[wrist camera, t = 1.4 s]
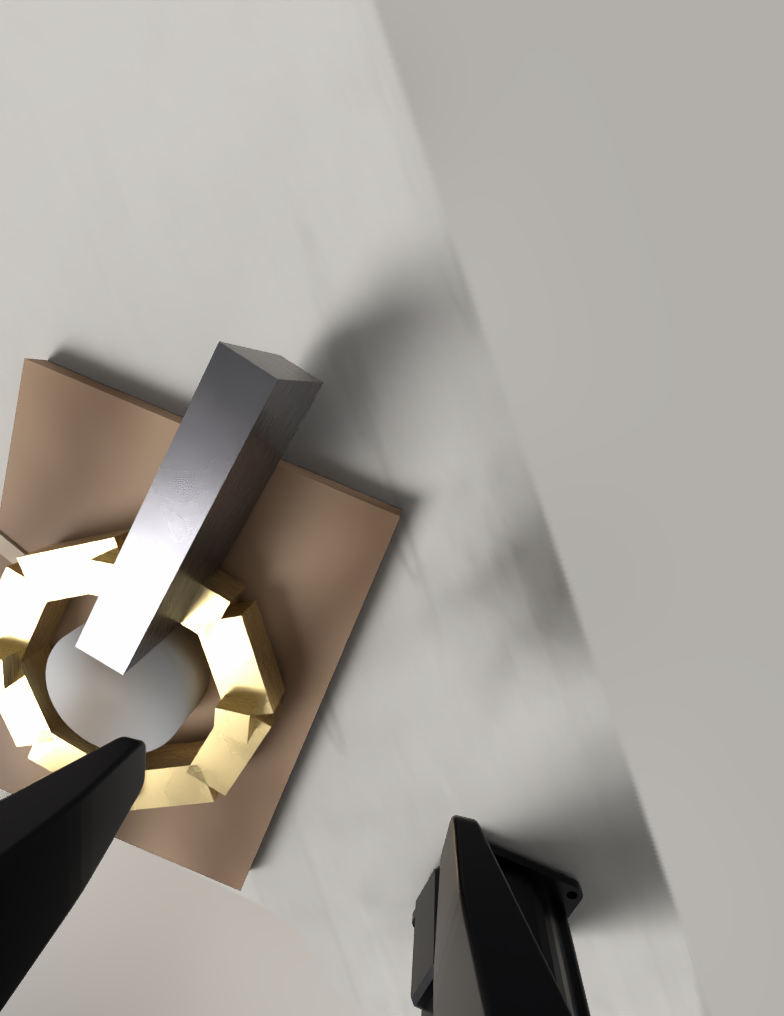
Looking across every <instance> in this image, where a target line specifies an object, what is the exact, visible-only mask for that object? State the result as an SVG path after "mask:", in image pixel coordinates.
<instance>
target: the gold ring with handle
mask: <svg viewBox="0 0 784 1016" xmlns="http://www.w3.org/2000/svg"><path fill="white" fill-rule="evenodd" d="M321 385H322V382H321V381H319V380H318V379H316V378H315V377H313V376H312V375H310V374H308V373H307V372H305V371H304V370H302V369H301V368H299V367H298V366H296V365H295V364H293V363H291V362H290V361H288V360H287V359H285V358H284V357H282V356H280V355H276V354H272V353H267V352H263V351H259V350H254V349H250V348H246V347H241V346H237V345H232V344H228V343H224V342H219V343H218V345H217V347H216V349H215V352H214V354H213V356H212V358H211V360H210V362H209V364H208V366H207V368H206V371H205V373H204V375H203V377H202V379H201V381H200V383H199V385H198V388H197V390H196V392H195V394H194V396H193V398H192V400H191V402H190V404H189V407H188V409H187V411H186V413H185V415H184V417H183V419H182V421H181V423H180V426H179V428H178V430H177V432H176V434H175V436H174V438H173V440H172V443H171V445H170V447H169V449H168V451H167V453H166V455H165V457H164V459H163V462H162V464H161V466H160V468H159V470H158V472H157V474H156V476H155V479H154V481H153V483H152V485H151V487H150V489H149V491H148V493H147V495H146V498H145V500H144V502H143V504H142V506H141V508H140V510H139V512H138V515H137V517H136V519H135V521H134V523H133V525H132V527H131V528H130V529H125V530H120V531H115V532H111V533H106V534H101V535H96V536H92V537H87V538H82V539H77V540H73V541H68V542H63V543H58V544H54V545H49V546H46V547H44V548H41V549H38V550H36V551H33V552H31V553H28V554H26V555H23V556H20V557H18V558H17V559H18V562H17V563H14V564H12V565H9V566H7V567H6V569H5V571H4V574H3V577H2V579H1V582H0V712H1V714H2V716H3V718H4V720H5V723H6V725H7V727H8V729H9V731H10V733H11V735H12V737H13V739H14V741H15V743H16V746H17V747H19V746H26V745H33V747H32V749H31V752H30V754H29V756H28V758H29V759H31V760H32V761H34V762H36V763H37V764H39V765H41V766H43V767H44V768H46V769H48V770H49V771H51V772H54V771H56V770H58V769H60V768H62V767H64V766H66V765H68V764H69V763H71V762H73V761H75V760H77V759H79V758H81V757H83V756H85V755H86V754H88V753H90V752H92V751H94V750H96V749H98V748H100V747H98V746H96V745H94V744H92V743H90V742H88V741H87V740H85V739H83V738H82V737H81V736H79V735H78V734H77V733H75V732H74V731H73V730H72V729H71V728H70V727H69V726H68V725H67V724H66V723H65V722H64V721H63V719H62V718H61V717H60V715H59V714H58V712H57V711H56V709H55V707H54V705H53V703H52V701H51V699H50V696H49V693H48V690H47V685H46V665H47V661H48V658H49V655H50V653H51V649H50V646H49V644H50V641H51V639H52V637H53V635H54V633H55V630H56V628H57V626H58V624H59V621H60V619H61V617H62V615H63V613H64V610H65V608H66V606H67V604H68V602H69V599H70V597H74V596H79V595H85V594H92V595H97V596H99V597H98V599H97V601H96V603H95V606H94V608H93V610H92V612H91V614H90V616H89V618H88V620H87V622H86V625H85V627H84V629H83V631H82V633H81V635H80V637H79V639H78V642H77V644H76V646H75V647H77V648H79V649H80V650H82V651H84V652H85V653H87V654H89V655H90V656H92V657H94V658H95V659H97V660H99V661H100V662H102V663H104V664H105V665H107V666H109V667H110V668H112V669H114V670H115V671H117V672H119V673H120V674H122V675H124V674H125V673H126V672H127V671H128V670H129V669H131V668H132V667H133V666H134V665H135V664H136V663H137V662H139V661H140V660H141V659H142V658H143V657H144V656H145V655H146V654H148V653H149V652H150V651H151V650H152V649H153V648H154V647H155V646H157V645H158V644H159V643H160V642H161V641H162V640H163V639H165V638H166V637H167V636H168V635H169V634H170V633H171V632H172V631H174V630H175V629H176V628H177V627H178V626H179V625H180V624H182V625H184V626H185V627H187V628H189V629H190V630H192V631H194V632H195V633H197V634H198V635H199V638H200V641H201V643H202V646H203V649H204V652H205V655H206V658H207V660H208V663H209V666H210V669H211V672H212V674H213V677H214V680H215V683H216V686H217V689H218V691H219V694H220V697H221V701H220V702H219V704H218V705H217V706H216V708H215V719H214V728H213V729H212V731H211V733H210V734H209V736H208V737H207V739H206V740H202V741H194V742H186V743H178V744H170V745H162V746H160V747H159V748H157V749H154V750H152V751H149V752H146V762H145V780H144V784H143V787H142V789H141V791H140V793H139V795H138V797H137V799H136V801H135V802H134V804H133V806H132V808H131V809H130V810H139V809H149V808H159V807H169V806H179V805H189V804H199V803H209V802H214V801H215V799H216V798H217V796H218V794H219V792H220V793H221V794H223V795H226V794H227V792H228V791H229V789H230V788H231V786H232V785H233V784H234V782H235V781H236V779H237V778H238V776H239V775H240V773H241V772H242V770H243V769H244V767H245V766H246V764H247V763H248V761H249V760H250V758H251V757H252V755H253V754H254V752H255V751H256V749H257V748H258V746H259V745H260V743H261V742H262V740H263V739H264V737H265V736H266V734H267V733H268V731H269V730H270V728H271V727H272V725H273V723H274V721H275V719H276V717H277V715H278V713H279V711H280V709H281V707H282V705H283V702H281V701H280V699H281V697H282V695H283V694H284V692H285V687H284V684H283V681H282V678H281V675H280V671H279V668H278V665H277V662H276V659H275V656H274V652H273V649H272V646H271V643H270V640H269V637H268V634H267V630H266V627H265V624H264V621H263V618H262V615H261V611H260V608H259V605H258V602H257V599H253V600H248V601H242V602H237V601H238V600H239V598H240V596H241V595H242V593H243V591H244V589H245V588H246V586H245V585H243V584H242V583H240V582H239V581H237V580H235V579H234V578H232V577H231V576H229V575H227V574H226V573H224V572H222V571H221V570H220V568H221V566H222V564H223V562H224V561H225V559H226V557H227V555H228V553H229V552H230V550H231V548H232V546H233V544H234V543H235V541H236V539H237V537H238V535H239V533H240V532H241V530H242V528H243V526H244V524H245V523H246V521H247V519H248V517H249V515H250V514H251V512H252V510H253V508H254V506H255V505H256V503H257V501H258V499H259V497H260V496H261V494H262V492H263V490H264V488H265V486H266V485H267V483H268V481H269V479H270V477H271V476H272V474H273V472H274V470H275V468H276V467H277V465H278V463H279V461H280V459H281V458H282V456H283V454H284V452H285V450H286V449H287V447H288V445H289V443H290V441H291V439H292V438H293V436H294V434H295V432H296V430H297V429H298V427H299V425H300V423H301V421H302V420H303V418H304V416H305V414H306V412H307V411H308V409H309V407H310V405H311V403H312V402H313V400H314V398H315V396H316V394H317V392H318V391H319V389H320V387H321Z"/></svg>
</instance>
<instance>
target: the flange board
mask: <svg viewBox="0 0 784 1016" xmlns="http://www.w3.org/2000/svg"><path fill="white" fill-rule="evenodd" d="M182 419H183V418H182V417H180V416H177V415H175V414H173V413H170V412H168V411H166V410H163V409H161V408H158V407H156V406H154V405H151V404H149V403H147V402H144V401H142V400H139V399H137V398H135V397H132V396H130V395H128V394H125V393H123V392H120V391H118V390H116V389H113V388H111V387H109V386H106V385H104V384H101V383H99V382H97V381H94V380H92V379H90V378H87V377H85V376H82V375H80V374H78V373H75V372H73V371H70V370H68V369H66V368H63V367H61V366H59V365H56V364H54V363H51V362H49V361H47V360H38V359H26V358H25V359H24V365H23V371H22V377H21V383H20V390H19V396H18V402H17V408H16V414H15V421H14V427H13V433H12V439H11V445H10V452H9V458H8V464H7V470H6V476H5V483H4V489H3V495H2V501H1V507H0V582H1V579H2V577H3V574H4V571H5V569H6V567H7V566H9V565H12V564H14V563H17V562H18V559H17V558H18V557H20V556H23V555H26V554H28V553H31V552H33V551H36V550H38V549H41V548H44V547H46V546H49V545H54V544H58V543H63V542H68V541H73V540H77V539H82V538H87V537H92V536H96V535H101V534H106V533H111V532H115V531H120V530H125V529H130V528H131V527H132V525H133V523H134V521H135V519H136V517H137V515H138V512H139V510H140V508H141V506H142V504H143V502H144V500H145V498H146V495H147V493H148V491H149V489H150V487H151V485H152V483H153V481H154V479H155V476H156V474H157V472H158V470H159V468H160V466H161V464H162V462H163V459H164V457H165V455H166V453H167V451H168V449H169V447H170V445H171V443H172V440H173V438H174V436H175V434H176V432H177V430H178V428H179V426H180V423H181V421H182ZM401 513H402V510H401V509H398V508H396V507H394V506H391V505H389V504H387V503H384V502H382V501H379V500H377V499H375V498H372V497H370V496H368V495H365V494H363V493H360V492H358V491H356V490H353V489H351V488H349V487H346V486H344V485H341V484H339V483H337V482H334V481H332V480H330V479H327V478H325V477H322V476H320V475H318V474H315V473H313V472H311V471H308V470H306V469H303V468H301V467H299V466H296V465H294V464H292V463H289V462H287V461H284V460H282V459H280V461H279V463H278V465H277V467H276V468H275V470H274V472H273V474H272V476H271V477H270V479H269V481H268V483H267V485H266V486H265V488H264V490H263V492H262V494H261V496H260V497H259V499H258V501H257V503H256V505H255V506H254V508H253V510H252V512H251V514H250V515H249V517H248V519H247V521H246V523H245V524H244V526H243V528H242V530H241V532H240V533H239V535H238V537H237V539H236V541H235V543H234V544H233V546H232V548H231V550H230V552H229V553H228V555H227V557H226V559H225V561H224V562H223V564H222V566H221V568H220V570H221V571H222V572H224V573H226V574H227V575H229V576H231V577H232V578H234V579H235V580H237V581H239V582H240V583H242V584H243V585H245V586H246V588H245V589H244V591H243V593H242V595H241V596H240V598H239V600H238V601H237V602H242V601H248V600H253V599H257V602H258V605H259V608H260V611H261V615H262V618H263V621H264V624H265V627H266V630H267V634H268V637H269V640H270V643H271V646H272V649H273V652H274V656H275V659H276V662H277V665H278V668H279V671H280V675H281V678H282V681H283V684H284V687H285V692H284V694H283V695H282V697H281V699H280V701H281V702H283V705H282V707H281V709H280V711H279V713H278V715H277V717H276V719H275V721H274V723H273V725H272V727H271V728H270V730H269V731H268V733H267V734H266V736H265V737H264V739H263V740H262V742H261V743H260V745H259V746H258V748H257V749H256V751H255V752H254V754H253V755H252V757H251V758H250V760H249V761H248V763H247V764H246V766H245V767H244V769H243V770H242V772H241V773H240V775H239V776H238V778H237V779H236V781H235V782H234V784H233V785H232V786H231V788H230V789H229V791H228V792H227V794H226V795H223V794H221V793H220V792H219V794H218V796H217V798H216V799H215V801H214V802H209V803H199V804H189V805H179V806H169V807H159V808H149V809H139V810H130V811H129V813H128V814H127V816H126V818H125V820H124V821H123V823H122V825H121V827H120V828H119V830H118V832H117V834H116V835H115V838H117V839H120V840H122V841H124V842H127V843H129V844H131V845H134V846H136V847H138V848H141V849H143V850H145V851H148V852H150V853H152V854H155V855H157V856H160V857H162V858H164V859H167V860H169V861H171V862H174V863H176V864H178V865H181V866H183V867H185V868H188V869H190V870H192V871H195V872H197V873H199V874H202V875H204V876H206V877H209V878H211V879H214V880H216V881H218V882H221V883H223V884H225V885H228V886H230V887H232V888H235V889H237V890H239V891H241V889H242V886H243V884H244V882H245V879H246V877H247V874H248V872H249V870H250V867H251V865H252V863H253V860H254V858H255V856H256V853H257V851H258V849H259V846H260V844H261V842H262V839H263V837H264V835H265V832H266V830H267V828H268V825H269V823H270V821H271V818H272V816H273V814H274V811H275V809H276V807H277V804H278V802H279V800H280V797H281V795H282V793H283V790H284V788H285V786H286V783H287V781H288V778H289V776H290V774H291V771H292V769H293V767H294V764H295V762H296V760H297V757H298V755H299V753H300V750H301V748H302V746H303V743H304V741H305V739H306V736H307V734H308V732H309V729H310V727H311V725H312V722H313V720H314V718H315V715H316V713H317V711H318V708H319V706H320V704H321V701H322V699H323V697H324V694H325V692H326V690H327V687H328V685H329V682H330V680H331V678H332V675H333V673H334V671H335V668H336V666H337V664H338V661H339V659H340V657H341V654H342V652H343V650H344V647H345V645H346V643H347V640H348V638H349V636H350V633H351V631H352V629H353V626H354V624H355V622H356V619H357V617H358V615H359V612H360V610H361V608H362V605H363V603H364V601H365V598H366V596H367V594H368V591H369V589H370V586H371V584H372V582H373V579H374V577H375V575H376V572H377V570H378V568H379V565H380V563H381V561H382V558H383V556H384V554H385V551H386V549H387V547H388V544H389V542H390V540H391V537H392V535H393V533H394V530H395V528H396V526H397V523H398V521H399V519H400V516H401ZM98 597H99V596H97V595H92V594H85V595H79V596H74V597H70V599H69V602H68V604H67V606H66V608H65V610H64V613H63V615H62V617H61V619H60V621H59V624H58V626H57V628H56V630H55V633H54V635H53V637H52V639H51V641H50V644H49V646H50V649H51V653H50V655H49V658H48V661H47V665H46V685H47V690H48V693H49V696H50V699H51V701H52V703H53V705H54V707H55V709H56V711H57V712H58V714H59V715H60V717H61V718H62V719H63V721H64V722H65V723H66V724H67V725H68V726H69V727H70V728H71V729H72V730H73V731H74V732H75V733H77V734H78V735H79V736H81V737H82V738H83V739H85V740H87V741H88V742H90V743H92V744H94V745H96V746H98V747H102V746H103V745H105V744H107V743H109V742H111V741H113V740H115V739H117V738H119V737H129V738H134V739H138V740H142V741H143V742H144V743H145V745H146V752H149V751H152V750H154V749H157V748H159V747H160V746H162V745H170V744H178V743H186V742H194V741H202V740H206V739H207V737H208V736H209V734H210V733H211V731H212V729H213V728H214V719H215V708H216V706H217V705H218V704H219V702H220V701H221V697H220V694H219V691H218V689H217V686H216V683H215V680H214V677H213V674H212V672H211V669H210V666H209V663H208V660H207V658H206V655H205V652H204V649H203V646H202V643H201V641H200V638H199V635H198V634H197V633H195V632H194V631H192V630H190V629H189V628H187V627H185V626H184V625H182V624H180V625H179V626H178V627H177V628H176V629H175V630H174V631H172V632H171V633H170V634H169V635H168V636H167V637H166V638H165V639H163V640H162V641H161V642H160V643H159V644H158V645H157V646H155V647H154V648H153V649H152V650H151V651H150V652H149V653H148V654H146V655H145V656H144V657H143V658H142V659H141V660H140V661H139V662H137V663H136V664H135V665H134V666H133V667H132V668H131V669H129V670H128V671H127V672H126V673H125V674H124V675H122V674H120V673H119V672H117V671H115V670H114V669H112V668H110V667H109V666H107V665H105V664H104V663H102V662H100V661H99V660H97V659H95V658H94V657H92V656H90V655H89V654H87V653H85V652H84V651H82V650H80V649H79V648H77V647H75V646H76V644H77V642H78V639H79V637H80V635H81V633H82V631H83V629H84V627H85V625H86V622H87V620H88V618H89V616H90V614H91V612H92V610H93V608H94V606H95V603H96V601H97V599H98ZM32 747H33V745H26V746H19V747H17V746H16V743H15V741H14V739H13V737H12V735H11V733H10V731H9V729H8V727H7V725H6V723H5V720H4V718H3V716H2V714H1V712H0V789H2V790H5V791H7V792H9V793H12V794H13V793H15V792H17V791H18V790H20V789H22V788H24V787H26V786H28V785H30V784H32V783H34V782H35V781H37V780H39V779H41V778H43V777H45V776H47V775H49V774H51V773H52V772H51V771H49V770H48V769H46V768H44V767H43V766H41V765H39V764H37V763H36V762H34V761H32V760H31V759H29V758H28V756H29V754H30V752H31V749H32Z"/></svg>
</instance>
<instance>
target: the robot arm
mask: <svg viewBox="0 0 784 1016" xmlns="http://www.w3.org/2000/svg"><path fill="white" fill-rule="evenodd" d="M145 762H146V745H145V743H144V742H143V741H142V740H138V739H134V738H129V737H119V738H117V739H115V740H113V741H111V742H109V743H107V744H105V745H103V746H102V747H100V748H98V749H96V750H94V751H92V752H90V753H88V754H86V755H85V756H83V757H81V758H79V759H77V760H75V761H73V762H71V763H69V764H68V765H66V766H64V767H62V768H60V769H58V770H56V771H54V772H52V773H51V774H49V775H47V776H45V777H43V778H41V779H39V780H37V781H35V782H34V783H32V784H30V785H28V786H26V787H24V788H22V789H20V790H18V791H17V792H15V793H13V794H11V795H9V796H7V797H5V798H3V799H1V800H0V1011H1V1010H2V1008H3V1007H4V1006H5V1004H6V1003H7V1001H8V1000H9V998H10V997H11V995H12V994H13V993H14V991H15V990H16V988H17V987H18V985H19V984H20V983H21V981H22V979H23V978H24V977H25V975H26V974H27V972H28V971H29V969H30V968H31V967H32V965H33V964H34V962H35V961H36V959H37V958H38V956H39V955H40V954H41V952H42V951H43V949H44V948H45V946H46V945H47V943H48V942H49V940H50V939H51V938H52V936H53V935H54V933H55V932H56V930H57V929H58V927H59V926H60V925H61V923H62V922H63V920H64V919H65V917H66V916H67V914H68V913H69V912H70V910H71V909H72V907H73V906H74V904H75V902H76V901H77V899H78V898H79V896H80V895H81V893H82V892H83V890H84V888H85V887H86V885H87V884H88V882H89V880H90V879H91V877H92V875H93V873H94V872H95V870H96V868H97V866H98V865H99V863H100V861H101V860H102V858H103V856H104V854H105V853H106V851H107V849H108V847H109V846H110V844H111V842H112V840H113V839H114V837H115V835H116V834H117V832H118V830H119V828H120V827H121V825H122V823H123V821H124V820H125V818H126V816H127V814H128V813H129V811H130V809H131V808H132V806H133V804H134V802H135V801H136V799H137V797H138V795H139V793H140V791H141V789H142V787H143V784H144V780H145ZM582 897H583V894H582V890H581V887H580V884H579V883H578V882H577V881H576V880H574V879H572V878H569V877H567V876H565V875H562V874H560V873H558V872H555V871H553V870H551V869H548V868H546V867H543V866H541V865H539V864H536V863H534V862H532V861H529V860H527V859H525V858H522V857H520V856H518V855H515V854H513V853H510V852H508V851H506V850H503V849H501V848H499V847H496V846H494V845H492V844H489V843H488V842H487V840H486V838H485V836H484V833H483V831H482V829H481V827H480V825H479V824H478V822H477V821H476V820H474V819H470V818H466V817H462V816H458V815H455V816H453V817H452V818H451V821H450V824H449V828H448V832H447V835H446V839H445V843H444V847H443V851H442V856H441V863H440V866H439V867H437V868H436V869H435V870H434V871H433V873H432V875H431V876H430V878H429V880H428V881H427V883H426V885H425V886H424V888H423V890H422V892H421V893H420V895H419V897H418V898H417V900H416V908H415V910H414V912H413V918H412V924H413V927H414V947H413V965H412V984H411V999H412V1001H413V1004H414V1006H415V1007H417V1008H420V1009H422V1011H421V1016H590V1011H589V1007H588V1003H587V999H586V994H585V990H584V986H583V982H582V978H581V973H580V969H579V965H578V961H577V956H576V952H575V948H574V944H573V940H572V935H571V931H570V927H569V923H568V917H569V916H570V914H571V913H572V912H573V910H574V909H575V908H576V906H577V905H578V904H579V902H580V901H581V899H582Z"/></svg>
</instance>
